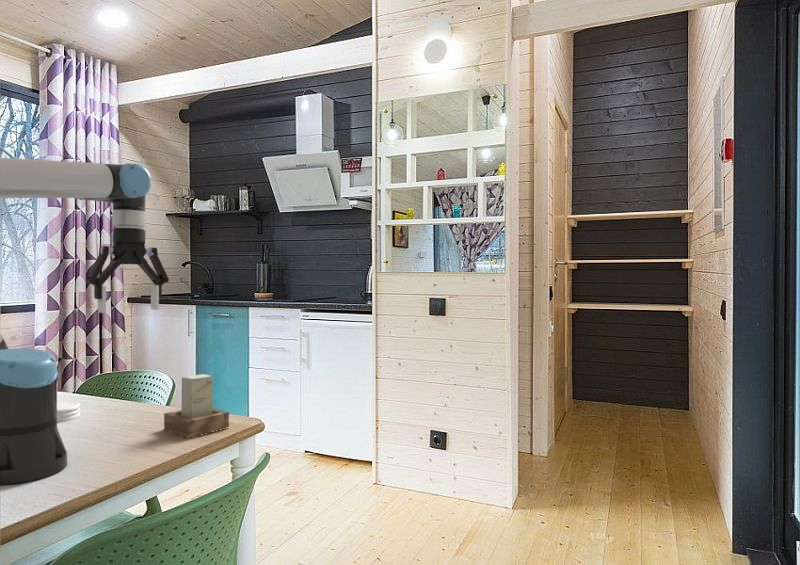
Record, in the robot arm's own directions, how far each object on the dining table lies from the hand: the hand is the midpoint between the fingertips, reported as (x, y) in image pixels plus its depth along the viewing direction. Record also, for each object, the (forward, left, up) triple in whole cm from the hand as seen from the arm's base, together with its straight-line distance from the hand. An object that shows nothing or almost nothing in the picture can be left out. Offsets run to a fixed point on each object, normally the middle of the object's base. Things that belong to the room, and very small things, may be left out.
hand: (129, 311), depth 146 cm
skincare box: (+8, -18, -28) cm, 34 cm away
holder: (+8, -18, -29) cm, 35 cm away
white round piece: (-10, +18, -29) cm, 36 cm away
